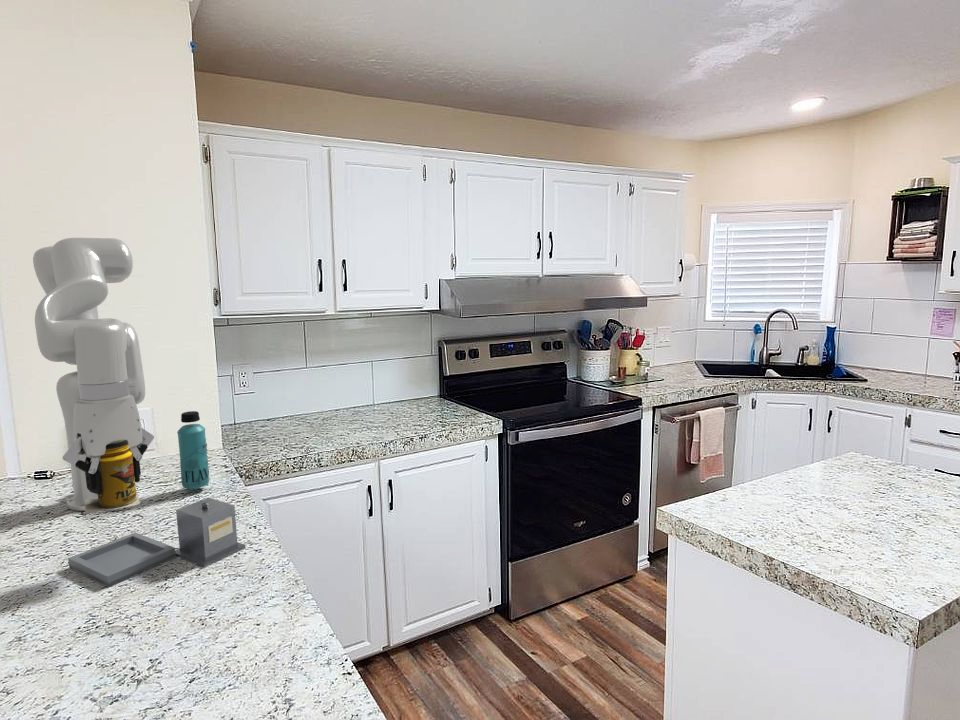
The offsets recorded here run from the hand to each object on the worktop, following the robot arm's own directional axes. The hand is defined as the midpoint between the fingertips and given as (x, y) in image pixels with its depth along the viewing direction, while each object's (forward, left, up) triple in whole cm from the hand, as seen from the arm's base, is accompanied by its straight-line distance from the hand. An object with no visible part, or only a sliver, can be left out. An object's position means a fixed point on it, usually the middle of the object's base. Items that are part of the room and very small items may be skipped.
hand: (115, 485), depth 109 cm
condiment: (0, -1, -3) cm, 3 cm away
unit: (+10, +11, -15) cm, 21 cm away
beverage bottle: (-22, +30, -15) cm, 40 cm away
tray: (0, 0, -15) cm, 15 cm away
